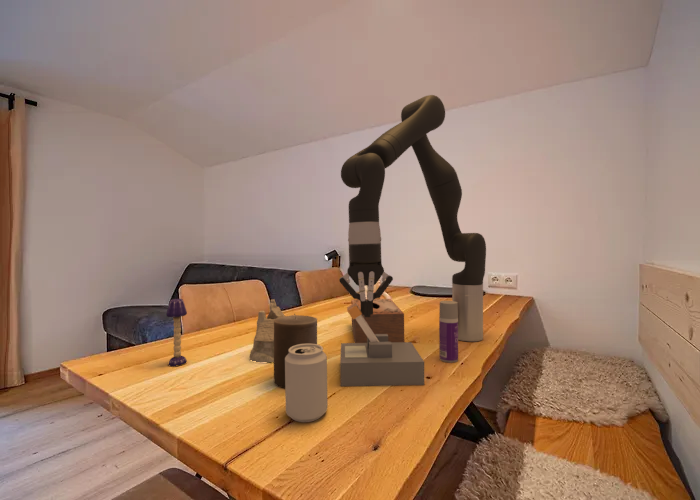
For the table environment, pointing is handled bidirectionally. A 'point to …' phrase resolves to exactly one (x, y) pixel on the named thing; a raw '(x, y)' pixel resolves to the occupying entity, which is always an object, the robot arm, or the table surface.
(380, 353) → the box
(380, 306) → the tissue box cover
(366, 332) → the breaker lever
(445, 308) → the container
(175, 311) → the toy lamp
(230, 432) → the table surface
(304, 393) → the can
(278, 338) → the pillar candle
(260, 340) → the ceramic cottage
